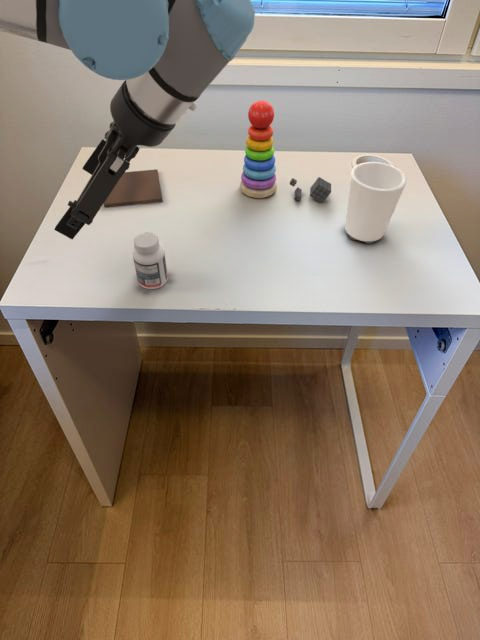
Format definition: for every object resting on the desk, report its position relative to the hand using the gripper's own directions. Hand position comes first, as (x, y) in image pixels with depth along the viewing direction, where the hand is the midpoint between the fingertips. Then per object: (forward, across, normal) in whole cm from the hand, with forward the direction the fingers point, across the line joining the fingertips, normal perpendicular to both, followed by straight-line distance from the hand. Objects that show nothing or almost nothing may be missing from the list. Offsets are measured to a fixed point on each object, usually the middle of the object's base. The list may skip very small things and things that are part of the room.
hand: (78, 201), depth 70 cm
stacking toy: (-1, +30, -33) cm, 45 cm away
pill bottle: (+7, -1, -18) cm, 19 cm away
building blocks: (-8, +28, -41) cm, 51 cm away
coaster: (+16, +27, -12) cm, 34 cm away
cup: (-16, +17, -48) cm, 54 cm away
